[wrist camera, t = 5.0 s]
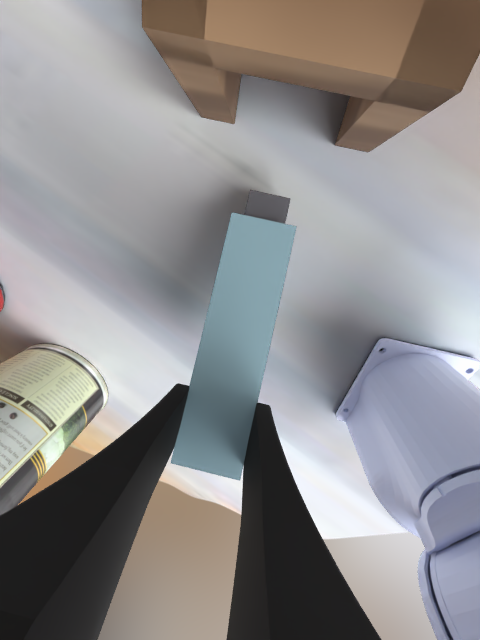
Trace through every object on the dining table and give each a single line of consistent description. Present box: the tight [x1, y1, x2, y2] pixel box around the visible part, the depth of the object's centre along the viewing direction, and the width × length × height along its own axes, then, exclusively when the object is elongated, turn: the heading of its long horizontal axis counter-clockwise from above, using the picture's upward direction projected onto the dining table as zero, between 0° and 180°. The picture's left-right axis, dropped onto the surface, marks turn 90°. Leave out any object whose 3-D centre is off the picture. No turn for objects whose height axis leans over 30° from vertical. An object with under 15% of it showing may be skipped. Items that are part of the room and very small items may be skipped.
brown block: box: [142, 0, 480, 152], centre depth 9 cm, size 4×10×7 cm, turn 79°
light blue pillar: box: [171, 190, 297, 480], centre depth 12 cm, size 14×3×4 cm, turn 169°
